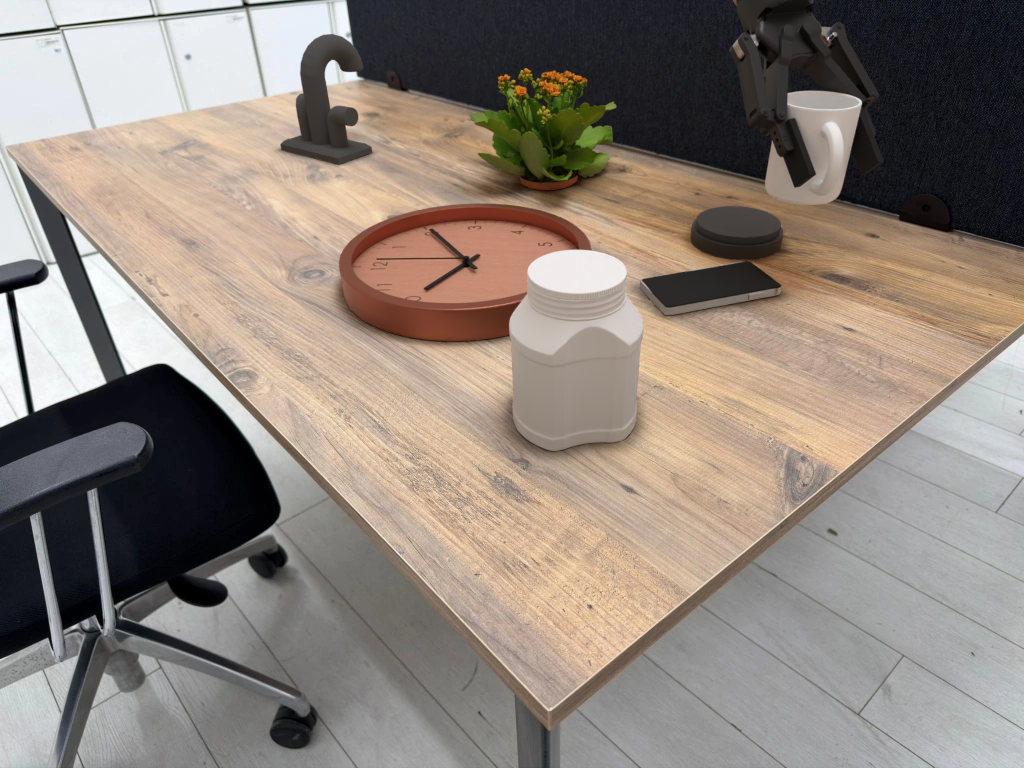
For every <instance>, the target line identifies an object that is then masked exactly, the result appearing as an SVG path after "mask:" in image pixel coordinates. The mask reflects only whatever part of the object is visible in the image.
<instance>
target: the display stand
mask: <svg viewBox="0 0 1024 768" xmlns="http://www.w3.org/2000/svg"><path fill="white" fill-rule="evenodd" d="M689 238H690V243H691V245H692V246H693V247H694V248H695V249H697V251H700V252H701V253H704V254H706V255H709V256H711V257H715V258H720V259H724V260H725V259H726V260H732V261H753V260H761V259H765V258H768V257H771V256H774V255H775V254H777V253H778V252H779V251H780V250H781V247H782V243H783V238H784V227H782V223H781V220H780V218H778V217H777V216H775V215H774V214H772V213H771V212H768V211H765V210H763V209H759V208H755V207H749V206H740V205H725V206H715V207H712V208H707V209H705V210H703V211H701V212H700V213H699V214H698V215H697V216H696V219H694V221H693V222H692V223H691V230H690V237H689Z"/></svg>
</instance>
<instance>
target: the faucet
mask: <svg viewBox="0 0 1024 768" xmlns="http://www.w3.org/2000/svg"><path fill="white" fill-rule="evenodd" d="M331 61H334V62H336V64H337V65H338V67H339V69H340V70H341V72H344V73H358V72H361V71H363V69H364V65H363V61H362V57H361V56H360V54H359V52H358V49H357V48H356V47H355V46H354V45H353V44H352V42H351V41H350V40H348V39H347V38H345V37H344V36H342V35H338V34H335V33H327V34H322V35H319V36H317V37H316V38H314V39H313V40H312V41H311V42H310V43H308V45H307V47H306V48H305V50H304V52H303V53H302V57H301V61H300V66H299V68H300V69H299V77H300V83H301V88H302V93H299V94H298V95H297V96H296V98H295V111H296V117H297V120H298V126H299V131H300V134H299V135H296V136H294V137H290V138H288V139H284V140H283V141H282V142H281V143H280V144H279V145H280V149H281V151H284V152H289V153H291V154H296V155H300V156H303V157H308V158H312V159H316V160H320V161H324V162H328V163H331V164H335V165H342V164H344V163H348V162H350V161H353V160H355V159H359V158H361V157H364V156H367V155H370V154H373V148H372V146H371V145H369V144H367V143H365V142H361V141H356V140H351V139H349V138H348V132H347V127H354V126H356V125H357V123H358V122H359V113H358V111H357V109H356V107H355V108H354V107H351V106H345V105H334V106H333V107H331V103H330V97H329V92H328V87H327V86H328V85H327V81H326V80H327V79H326V68H327V66H328V64H329V63H330V62H331ZM346 126H347V127H346Z"/></svg>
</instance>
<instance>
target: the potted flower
mask: <svg viewBox="0 0 1024 768" xmlns="http://www.w3.org/2000/svg"><path fill="white" fill-rule="evenodd" d="M497 79H498V81H497V84H498V85H497V87H498V89H499V90H498V93H500V94H502V95H504V96H505V97H506V101H507V106H508V107H507V109H508V111H509V112H508V111H506V110H505V109H504V110H502V109H500V110H498V111H497V112H496V113H495V111H493V110H492V109H487V110H485V111H484V113H483V112H482V111H476V112H475V113H474V114H473V113H472V112H471V111H469V113H468V116H469V118H470V120H471V121H472V122H473V123H474V125H475V126H478V127H481V128H484V129H486V130H488V131H489V132H492V133H493V135H492V142H493V143H492V148H493V149H494V150H495V154H496V155H493V154H491V153H488V152H477V155H478V156H479V157H480V158H481V160H483V161H485V162H486V163H488V165H491V166H492V167H494V168H496V169H497V170H500V171H502V172H505V173H508V174H510V175H513V176H518V177H519V180H520V184H521V185H522V186H524V187H527V188H529V189H531V190H537V191H557V190H562V189H566V188H568V187H571V186H572V185H574V184H576V183H577V181H578V176H582V178H584V179H586V178H587V177H589V178H590V177H594V176H595V174H599V173H601V172H602V170H603V169H605V168H606V166H607V165H608V163H609V160H610V159H611V156H610V155H609V154H608V153H606V152H603V151H602V152H601V151H599V152H597V151H595V150H594V149H596V147H597V146H599V145H602V146H603V145H606V146H611V145H613V141H614V138H613V127H612V126H611V125H604V126H602V125H598V126H594V127H593V126H592V124H595V123H597V122H599V121H600V120H601V119H602V118H603V117H604V115H605V113H606V112H609V111H612V110H615V109H616V108H617V104H616V103H615V101H611V102H609V103H607V104H606V105H604V104H603V105H601V104H600V105H594V104H593V105H592V106H590V104H589V103H588V102H583V103H581V104H580V105H579V107H576V108H575V109H574V107H575V103H576V101H577V99H580V98H581V97H582V96H583V95H584V91H583V90H584V88H585V87H587V86H588V84H587V83H588V79H587V78H585V77H582V75H575V73H572V72H571V71H568V70H565V71H564V73H562V72H561V73H560V72H557V71H556V70H552V71H546V72H543V73H541V77H540V78H539V77H537V78H536V80H533V79H534V77H533V73H532V70H530V69H528V68H527V67H525V68H524V69H523V70H522V69H521V70H520V72H519V74H518V77H517V79H518V80H519V81H521V82H522V83H523V85H524V86H521V85H519V84H518V85H514V84H515V83H516V80H515V79H512V80H511V81H510V79H511V75H508V74H504V76H503V75H500V76H498V77H497ZM529 82H531V87H532V89H533V90H534V97H533V98H532V97H530V96H529V94H528V89H527V85H528V84H529ZM579 92H580V95H579V96H577V95H578V94H579ZM542 99H543V100H544V101H545V103H547V107H546V106H545V105H542V103H540V102H541V101H542ZM552 100H553V101H552ZM513 107H514V108H515V110H516V111H515V110H514V109H513Z"/></svg>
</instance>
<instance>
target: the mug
mask: <svg viewBox="0 0 1024 768" xmlns="http://www.w3.org/2000/svg"><path fill="white" fill-rule="evenodd" d="M861 106H862V101H861V100H860V99H858V98H856V97H854V96H851V95H847V94H843V93H837V92H829V91H823V90H799V91H792V92H791V91H790V92H788V99H787V117H786V119H785V121H787V120H788V119H791V118H795V119H796V122H797V125H798V127H799V130H800V133H801V135H802V138H803V140H804V143H805V146H806V148H807V151H808V154H809V156H810V159H811V162H812V164H813V167H814V170H815V172H816V175H815V176H814V177H812V178H811V179H810V180H808V181H807V182H806V183H804V184H803V185H802V186H801V187H796V188H794V185H793V183H792V180H791V177H790V174H789V172H788V169H787V166H786V164H785V161H784V158H783V157H780V156H779V155H778V154H777V152H776V149H775V147H774V144H773V141H772V140H771V146H770V150H769V151H770V152H769V156H768V163H767V168H766V173H765V179H764V189H765V191H766V193H767V194H768V195H769V196H770V197H771V198H773V199H775V200H777V201H780V202H783V203H787V204H790V205H798V206H819V205H826V204H829V203H831V202H833V201H835V200H836V199H838V197H839V196H840V195H841V192H842V189H843V185H844V181H845V178H846V173H847V168H848V165H849V160H850V156H851V153H852V150H851V148H852V144H853V139H854V135H855V131H856V127H857V123H858V118H859V114H860V110H861Z"/></svg>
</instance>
